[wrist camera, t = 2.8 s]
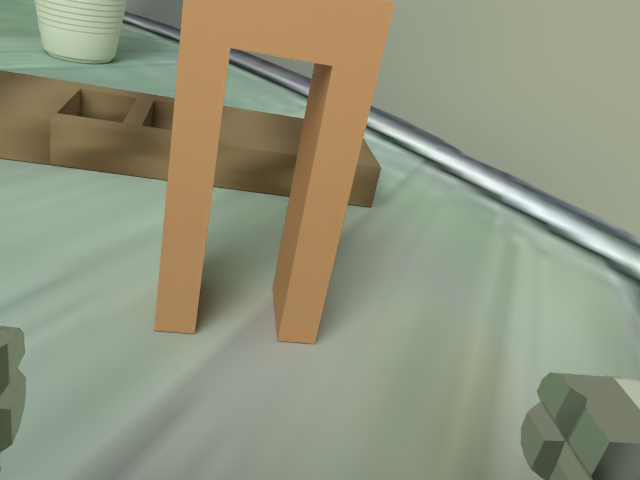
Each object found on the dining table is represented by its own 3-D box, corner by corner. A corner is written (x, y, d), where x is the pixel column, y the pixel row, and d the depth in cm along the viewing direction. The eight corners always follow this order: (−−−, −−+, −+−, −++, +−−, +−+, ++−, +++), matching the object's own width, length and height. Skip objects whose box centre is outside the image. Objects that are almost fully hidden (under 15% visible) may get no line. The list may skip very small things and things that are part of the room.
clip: (154, 330, 21) (187, -39, 16) (165, 278, 24) (195, -44, 19) (315, 343, 22) (394, 3, 17) (305, 292, 25) (369, -9, 20)
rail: (-164, 136, 30) (-173, 86, 29) (-88, 96, 37) (-92, 55, 36) (371, 207, 35) (381, 167, 34) (348, 160, 42) (356, 127, 41)
